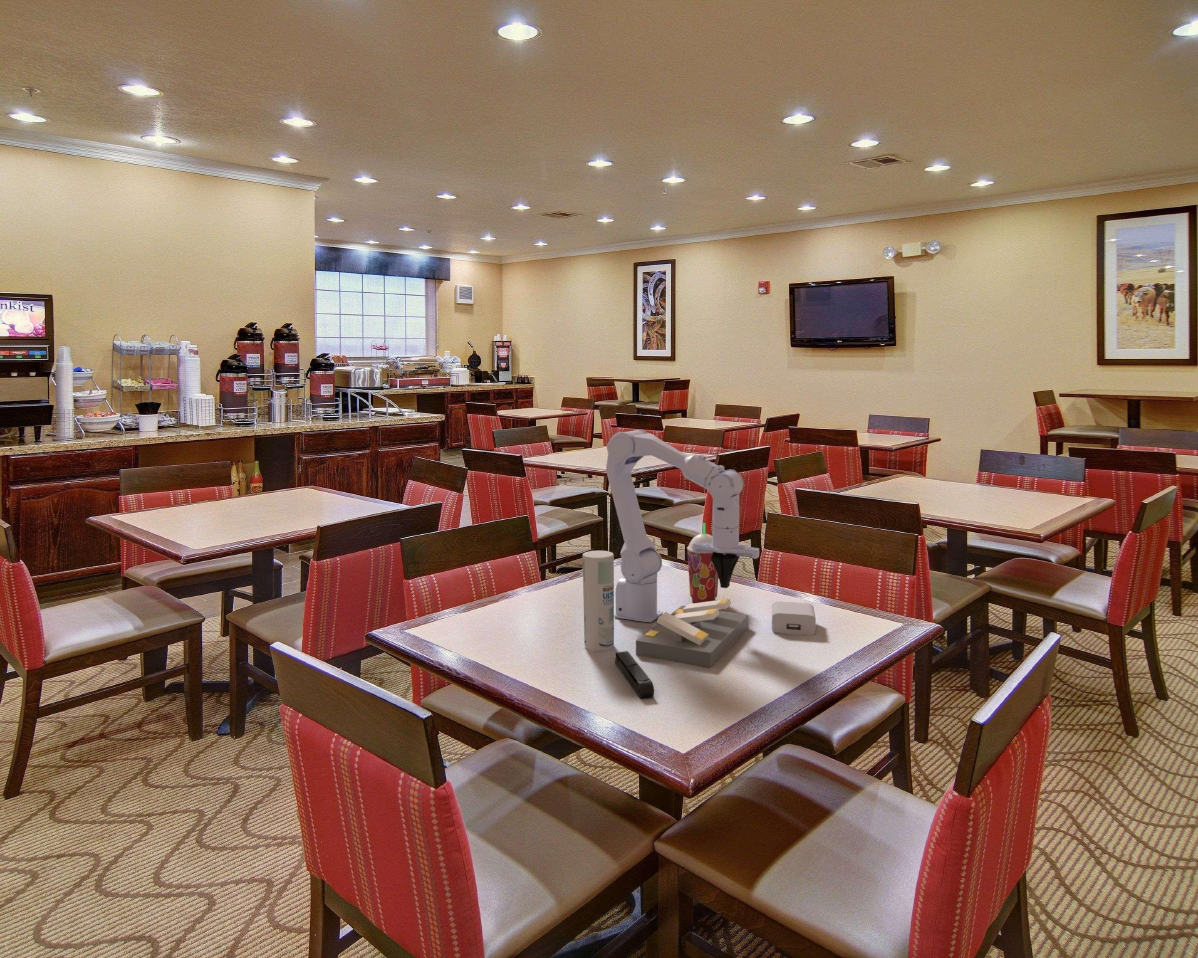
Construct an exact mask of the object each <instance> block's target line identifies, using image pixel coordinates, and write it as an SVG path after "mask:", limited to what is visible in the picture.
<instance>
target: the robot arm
mask: <svg viewBox="0 0 1198 958" xmlns="http://www.w3.org/2000/svg"><path fill="white" fill-rule="evenodd" d="M605 446H606V450H607V460H606V466H605V470H606V475H607V480H608V484H609V487H610V492H611V495H612V498H613V503H614V507H615V511H616V515H617V518H618V522H619V527H620V530H621V534H622V537H623V542H624V543H623V545H622V548H621V550H620V557H621V563H620V571H621V574H622V576H623V577H620V578H619V579H618V581H617V582H616V586H615V591H614V596H615V613H614V618H616V619H617V618H618V619H623V620H630V621H637V622H642V623H649V624H650V623H653V622H654V621H655V620H656V619H658V618H659V617H660V616H661V615H662V614H664V611H662V610H658V573H659V572H660V571H661V568H662V567H663V559H662V556H661V554H660V552H659V551H657V548H656V545H655V542H653V540H651V538H649V537H648V536H647V535H648V534H647V532H646V528H645V527H646V526H645V524H644V519H643V517H642V513H641V508H640V505H639V500H638V496H637V493H636V489H635V485H634V481H633V478H632V471H633V469H634V468H635V467H636V465H637V463H638V462H639V461H640V460H641V459H642V458H644V457H648V456H652V457H655V458H657V459H658V460H661V461H663V462H665V463H667V464H669V465H671V466H673V467H675V468H678V469H680V470H681V473H682V476H683V478H685V479H687V480H689V481H691V482H692V483H694V484H696V485H697V486H700V487H701V488H703V489H705V490H707V491H708V493H709V494H710V496H711V497H712V529H711V530H712V531H711V532H712V535H711V536H712V543H700V542H695V543H694V544H693V552H695V553H697V552H703V553H713V555H712V557H711V561H712V563H713V565H714V567H715V569H716V571H717V574H718V582H719V585H720V588H721V589H722V588H723V589H727V588H729V587H730V584H731V579H732V576H733V572H734V570H735V567H736V565H737V563H738V561H739V560H740V558H741V557H743V558H744V557H745V558H752V559H753V560H757V559H758V558H759V557H760V548H759V547H752V546H748V545H741V544H739V543H740V493H741V492H742V491H743V488H744V479H743V477H742V475H741V474H740V473H739V472H737V471H736V470H735V469H726V470H725V466H724V465H721V464H720V465H717V464H715V463H714V462H712V461H710V460H707V456H706V455H704V454H692V455H690V456H689V455H687V454H685V453H683V452H682V451H680V450H678V449H677V448H676V447H673V446H672V445H670V444H668V443H667V442H665V441H663V440H662V439H660V438H659V437H657V436H656V435H654V434H652V433H649V432H647V431H646V430H644V429H636V430H630V431H618V432H616V433H614V434H613V435H612V436H611V437H610V439H609V441H608V442H607V444H606V445H605Z"/></svg>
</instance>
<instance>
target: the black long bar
mask: <svg viewBox="0 0 1198 958" xmlns="http://www.w3.org/2000/svg"><path fill="white" fill-rule="evenodd" d="M614 662H615V663H614V664H615V665H616V667H617V668H618V670H619V671H620V673H621V674H622V675H623V677H624V679H625V680H626V681H627V682H628V684H629V685H630V687H632V689H633V691H634V692H635V694H636V695H637V697H639V699H640V700H641V699H648V698H653V697H655V686H654V683H653V681H652V680H651V678H650V677H649V676H648V675H647V673H646V672H645V671H644V670H643V668H642V667H641V666H640V664H639V663H637V661H636V660H635V659H634V657H633V656H632V655H631V653H630V652H629V651H628V650H627V651H626V650H623V651H615V654H614Z"/></svg>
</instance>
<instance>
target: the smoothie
mask: <svg viewBox="0 0 1198 958" xmlns="http://www.w3.org/2000/svg"><path fill="white" fill-rule="evenodd" d="M695 542H700V543H712V535H711V534H708V533H706V523H705V522H702V533H699V534H697V535H695V536H694V537H693V538H692V539H691V541H690V542H689V544H688V546H686V549H687V564H688V565H687V566H688V582H689V587H688V588H689V596H690V597H691V601H692V602H694V603H701V602H709V601H716V598H717V597H718V589H719V587H718V586H719V577H718V574H717V571H716V569H715V567H714V565H713V563H712V561H711V557H712V555H713V553H703V552H697V553H695V552H693V544H694V543H695Z"/></svg>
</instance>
